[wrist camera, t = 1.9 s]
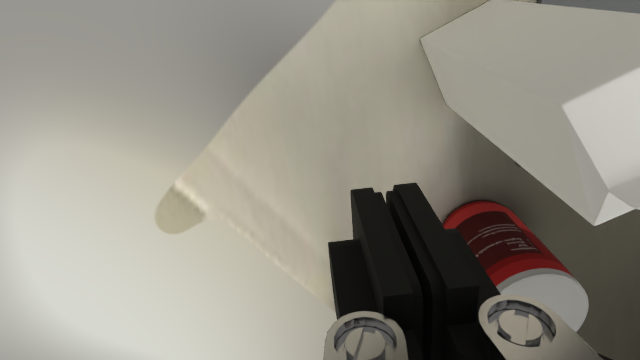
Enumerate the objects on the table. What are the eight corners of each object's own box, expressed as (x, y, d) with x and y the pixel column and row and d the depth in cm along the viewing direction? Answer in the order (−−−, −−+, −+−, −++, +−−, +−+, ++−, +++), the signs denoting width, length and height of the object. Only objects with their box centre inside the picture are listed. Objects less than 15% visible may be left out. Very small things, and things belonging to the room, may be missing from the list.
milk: (514, 69, 33) (841, 204, 14) (444, 105, 34) (653, 280, 14) (492, -4, 31) (852, 31, 11) (417, 37, 32) (625, 136, 12)
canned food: (486, 276, 42) (545, 366, 32) (420, 249, 40) (461, 337, 31) (534, 216, 40) (613, 296, 30) (465, 185, 38) (526, 259, 28)
